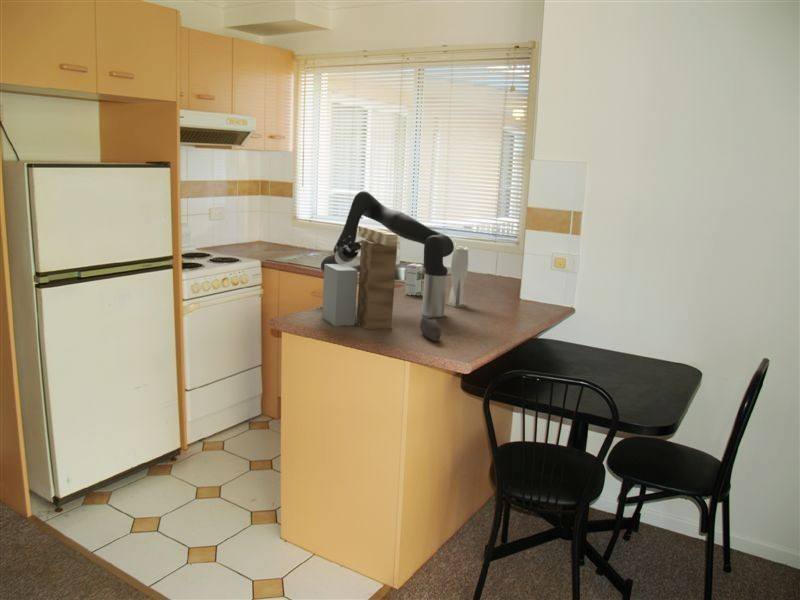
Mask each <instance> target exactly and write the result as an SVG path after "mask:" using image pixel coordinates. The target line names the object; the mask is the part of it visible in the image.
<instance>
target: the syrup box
mask: <svg viewBox="0 0 800 600" xmlns="http://www.w3.org/2000/svg"><path fill="white" fill-rule="evenodd" d="M423 268H424V264H419V263H410V264H406V271H405V273H406V275H405V291H404V292H405V294H404V295H406V294H408V295H407V296H411V295H414V296H413V297H416V296H415V295H417V296H421V295H422V290H423V289H422V287H423V285H422V284H423V271H424V269H423ZM420 294H421V295H420Z"/></svg>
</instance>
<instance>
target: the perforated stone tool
mask: <svg viewBox="0 0 800 600" xmlns="http://www.w3.org/2000/svg"><path fill="white" fill-rule="evenodd" d="M419 327H420V330H421V332H422V334H423V335H424V337H426V338H427V339H429V340H430V341H433V342H438V341H439V340H441V335H442V332H441V331H442V330H441V327H440V325H439V323H438V322H437V319H435V317H431V316H425V315H423V317H422V318H421V321H420V326H419Z"/></svg>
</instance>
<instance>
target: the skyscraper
mask: <svg viewBox="0 0 800 600" xmlns="http://www.w3.org/2000/svg"><path fill="white" fill-rule="evenodd" d="M453 245H454V249H453V252H452V256H451V262H450V263H451V264H450V277H451V287H450V290H449V291H450V292H449V295H448V301H447V303H445V306H447V307H448V306H449V307H454V308H457V309H459V308H463V307H468V304H465V292H464V290H465V289H464V288H465V287H464V283H465V281H466V277H467V276H468V275H467V274H468V269H469V248H468V247H467V246H461V245H459V246H458V245H457V242H456V241H455V242H453Z"/></svg>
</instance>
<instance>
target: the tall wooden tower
mask: <svg viewBox="0 0 800 600" xmlns="http://www.w3.org/2000/svg"><path fill="white" fill-rule="evenodd" d="M360 241H361V243H360V245H361V251H360V254H359V255H360V256H359V271H358V273H359V274H358V288H357V289H358V290H357V306H356V311H357V312H356V324H358V325H359V324H360V325H359V326H361V327H362V326H363V327H362V328H364V327H365V328H364V329H366V330H379V328H384V329H391V328H392V324H393V323H392V322H393V309H394V296H395V294H394V293H395V280H396V279H395V278H396V266H397V249H398V245H397V246H386V245H383V244H380V243H377V242H374V241H371V240H366V239H361V240H360Z"/></svg>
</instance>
